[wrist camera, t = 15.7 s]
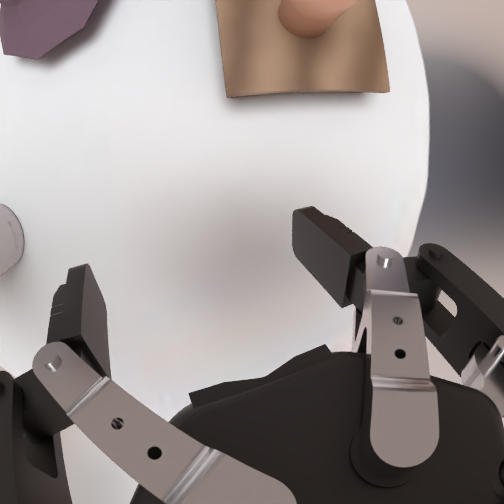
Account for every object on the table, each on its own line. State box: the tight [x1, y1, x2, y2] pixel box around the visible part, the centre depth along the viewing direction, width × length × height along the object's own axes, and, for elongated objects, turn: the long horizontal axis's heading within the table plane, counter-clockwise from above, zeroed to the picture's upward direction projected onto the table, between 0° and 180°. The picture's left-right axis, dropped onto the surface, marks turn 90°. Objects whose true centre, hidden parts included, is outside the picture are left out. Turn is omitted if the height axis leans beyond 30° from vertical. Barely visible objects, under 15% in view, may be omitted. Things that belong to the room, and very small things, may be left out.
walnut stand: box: [216, 0, 390, 98], centre depth 25 cm, size 16×16×6 cm
